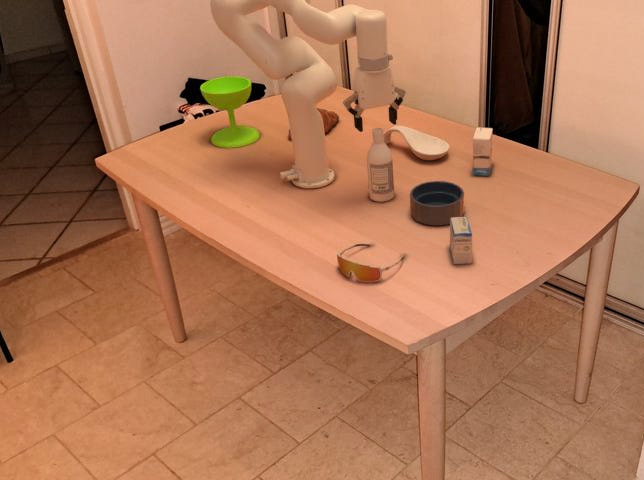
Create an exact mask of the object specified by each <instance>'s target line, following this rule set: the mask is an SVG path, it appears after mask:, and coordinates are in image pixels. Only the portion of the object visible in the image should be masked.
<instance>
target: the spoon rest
mask: <svg viewBox="0 0 644 480" xmlns="http://www.w3.org/2000/svg"><path fill="white" fill-rule="evenodd" d="M395 132H397V133H399V134H401V135H402V137H403V138H404V140H405V142H406V144H407V145H408V147H409V149H410V150H411V151H412V153H413V154H414V155H415V156H416V157H418V158H419V159H421V160H423V161H434V160H439V159H441V158H442V157H444V156H446V154H447V153H449V150H450V147H451V146H450V144H449V143H448V142H446V140H444V139H442V138H439V137H436V136H434V135H430V134H428V133H425V132H423V131H419V130H417V129H414V128H411V127H409V126H405V125H393V126H392V127H391V128H388V129H387V130H385V131H383V134H384V143H385V144H386V145H388V144H390V143H391V141H392V133H395Z"/></svg>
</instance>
